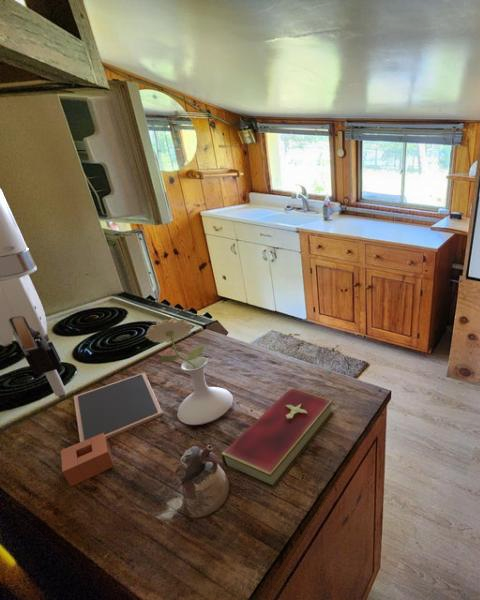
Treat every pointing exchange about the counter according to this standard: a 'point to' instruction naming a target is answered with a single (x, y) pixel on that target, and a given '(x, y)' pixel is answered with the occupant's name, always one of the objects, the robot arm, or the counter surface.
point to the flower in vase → (192, 376)
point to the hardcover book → (278, 437)
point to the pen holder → (86, 459)
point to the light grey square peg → (55, 382)
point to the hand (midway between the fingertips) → (48, 367)
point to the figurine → (202, 481)
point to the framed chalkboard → (116, 407)
